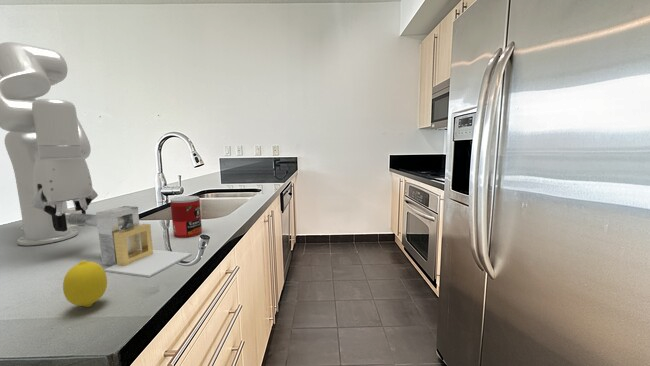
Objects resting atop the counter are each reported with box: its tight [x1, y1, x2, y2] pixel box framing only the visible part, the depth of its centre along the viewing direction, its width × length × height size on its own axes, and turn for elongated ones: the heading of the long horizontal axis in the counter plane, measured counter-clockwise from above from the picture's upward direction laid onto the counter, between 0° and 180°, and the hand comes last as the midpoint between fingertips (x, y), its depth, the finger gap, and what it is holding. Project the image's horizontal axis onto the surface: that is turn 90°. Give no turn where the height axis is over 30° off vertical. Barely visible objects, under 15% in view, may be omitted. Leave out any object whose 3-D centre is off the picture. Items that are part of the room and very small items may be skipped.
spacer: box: [114, 223, 154, 266], centre depth 66 cm, size 2×7×7 cm, turn 163°
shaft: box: [62, 209, 128, 229], centre depth 68 cm, size 18×4×4 cm, turn 75°
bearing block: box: [95, 205, 142, 267], centre depth 66 cm, size 4×7×12 cm, turn 165°
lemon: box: [62, 260, 108, 308], centre depth 47 cm, size 6×6×8 cm
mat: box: [103, 249, 192, 278], centre depth 65 cm, size 12×12×1 cm
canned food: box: [170, 195, 203, 239], centre depth 85 cm, size 8×8×11 cm
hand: (71, 227), depth 70 cm, fingers closed on shaft, 3 cm apart
